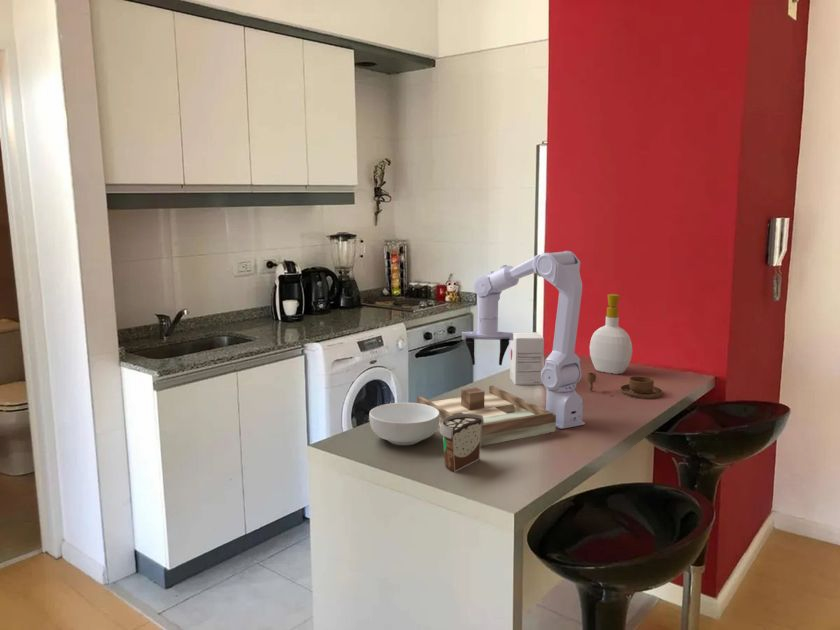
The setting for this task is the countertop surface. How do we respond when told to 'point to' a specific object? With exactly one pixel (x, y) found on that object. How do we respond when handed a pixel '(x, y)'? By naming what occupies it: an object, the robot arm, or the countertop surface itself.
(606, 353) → the soap bottle
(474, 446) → the food container
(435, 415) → the cereal bowl
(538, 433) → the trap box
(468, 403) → the walnut block
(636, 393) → the place setting
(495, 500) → the countertop surface
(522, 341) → the supplement box
